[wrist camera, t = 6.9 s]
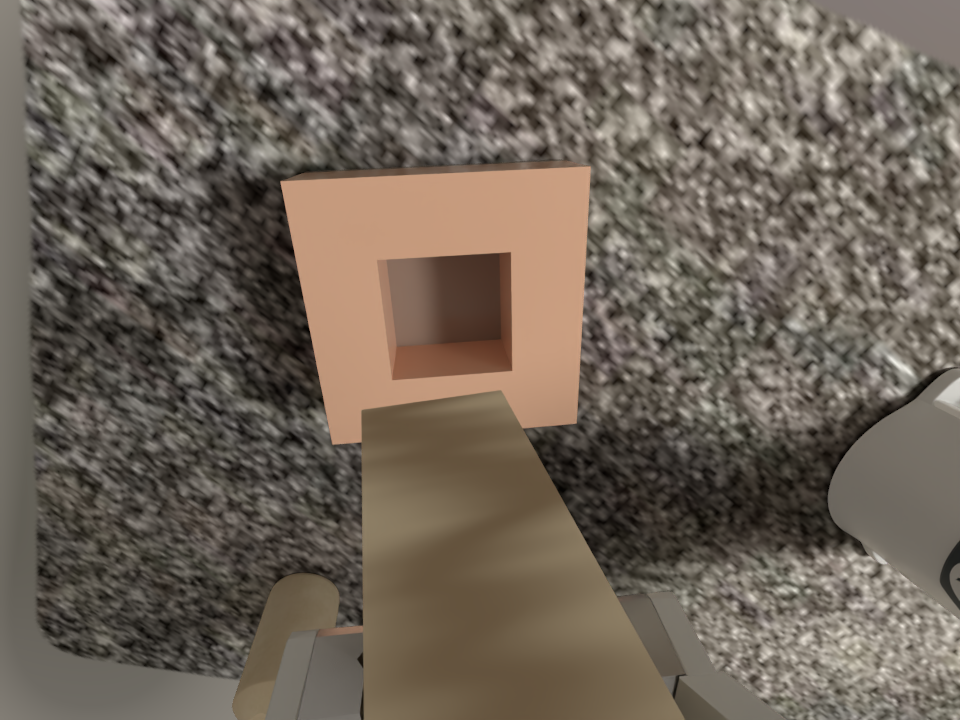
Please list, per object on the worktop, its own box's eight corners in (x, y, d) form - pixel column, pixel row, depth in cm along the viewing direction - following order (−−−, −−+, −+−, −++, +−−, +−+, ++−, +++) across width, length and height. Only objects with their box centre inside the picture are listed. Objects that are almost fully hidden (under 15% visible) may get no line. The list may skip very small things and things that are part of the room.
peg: (501, 389, 14) (729, 798, 6) (503, 498, 16) (682, 945, 7) (361, 409, 14) (365, 917, 5) (379, 520, 15) (406, 1048, 6)
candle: (297, 561, 38) (258, 693, 29) (354, 592, 40) (333, 725, 31) (255, 600, 40) (205, 738, 31) (312, 628, 42) (281, 766, 33)
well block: (561, 159, 28) (590, 166, 23) (554, 380, 34) (576, 423, 29) (307, 171, 27) (280, 181, 22) (346, 396, 33) (332, 444, 28)
